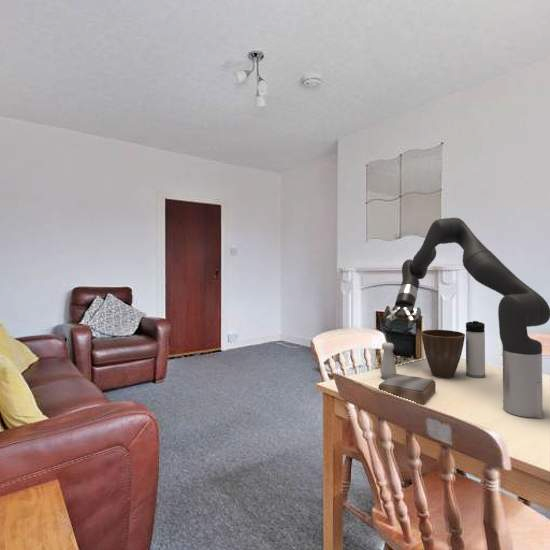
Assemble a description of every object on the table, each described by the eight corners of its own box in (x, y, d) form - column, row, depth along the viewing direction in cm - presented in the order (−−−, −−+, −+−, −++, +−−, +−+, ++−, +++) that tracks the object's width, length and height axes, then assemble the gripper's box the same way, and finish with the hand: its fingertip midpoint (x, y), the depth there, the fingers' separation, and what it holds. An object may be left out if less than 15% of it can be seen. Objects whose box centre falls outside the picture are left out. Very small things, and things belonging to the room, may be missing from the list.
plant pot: (452, 368, 146) (452, 329, 146) (473, 380, 131) (473, 336, 131) (415, 370, 146) (414, 330, 145) (432, 382, 131) (432, 337, 131)
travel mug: (485, 374, 139) (485, 321, 138) (484, 379, 133) (484, 324, 132) (467, 371, 142) (466, 320, 141) (465, 376, 136) (464, 322, 136)
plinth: (435, 391, 121) (435, 379, 121) (423, 404, 110) (423, 391, 110) (393, 384, 130) (393, 372, 130) (378, 395, 119) (378, 383, 119)
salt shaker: (397, 380, 134) (396, 345, 133) (381, 379, 135) (380, 344, 134) (395, 375, 139) (394, 341, 139) (379, 375, 140) (379, 341, 140)
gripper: (387, 291, 157) (378, 321, 148) (422, 292, 148) (414, 324, 139) (392, 302, 161) (383, 332, 152) (426, 304, 153) (418, 336, 144)
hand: (398, 328), depth 146 cm, fingers open, 8 cm apart
